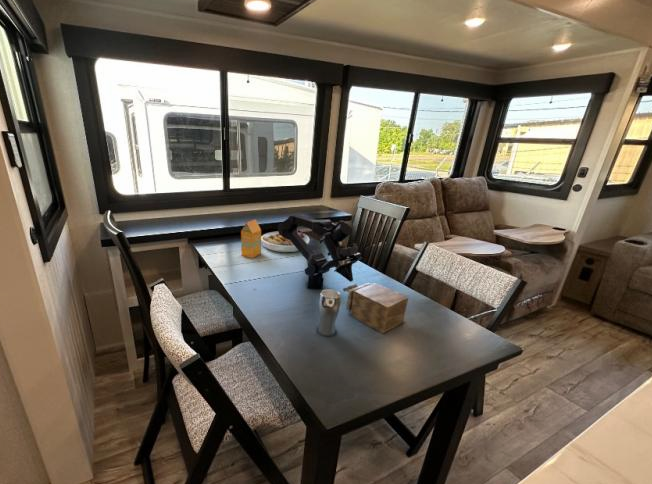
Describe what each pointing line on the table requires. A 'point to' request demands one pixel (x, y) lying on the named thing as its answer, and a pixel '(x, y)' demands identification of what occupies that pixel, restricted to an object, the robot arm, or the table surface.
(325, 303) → the beer glass
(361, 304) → the wooden box
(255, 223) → the orange juice
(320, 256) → the robot arm
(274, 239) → the bowl
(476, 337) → the table surface
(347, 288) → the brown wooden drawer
